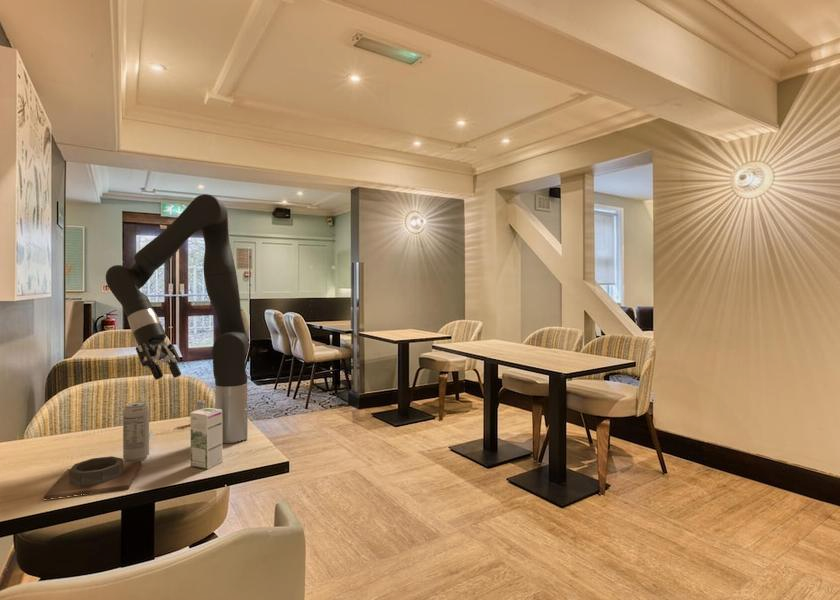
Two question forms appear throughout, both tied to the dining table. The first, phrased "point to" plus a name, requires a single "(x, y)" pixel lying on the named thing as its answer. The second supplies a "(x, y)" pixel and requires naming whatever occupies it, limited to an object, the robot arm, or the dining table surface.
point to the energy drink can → (135, 432)
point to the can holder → (95, 477)
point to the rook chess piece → (200, 404)
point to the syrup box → (206, 438)
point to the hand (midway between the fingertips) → (169, 377)
